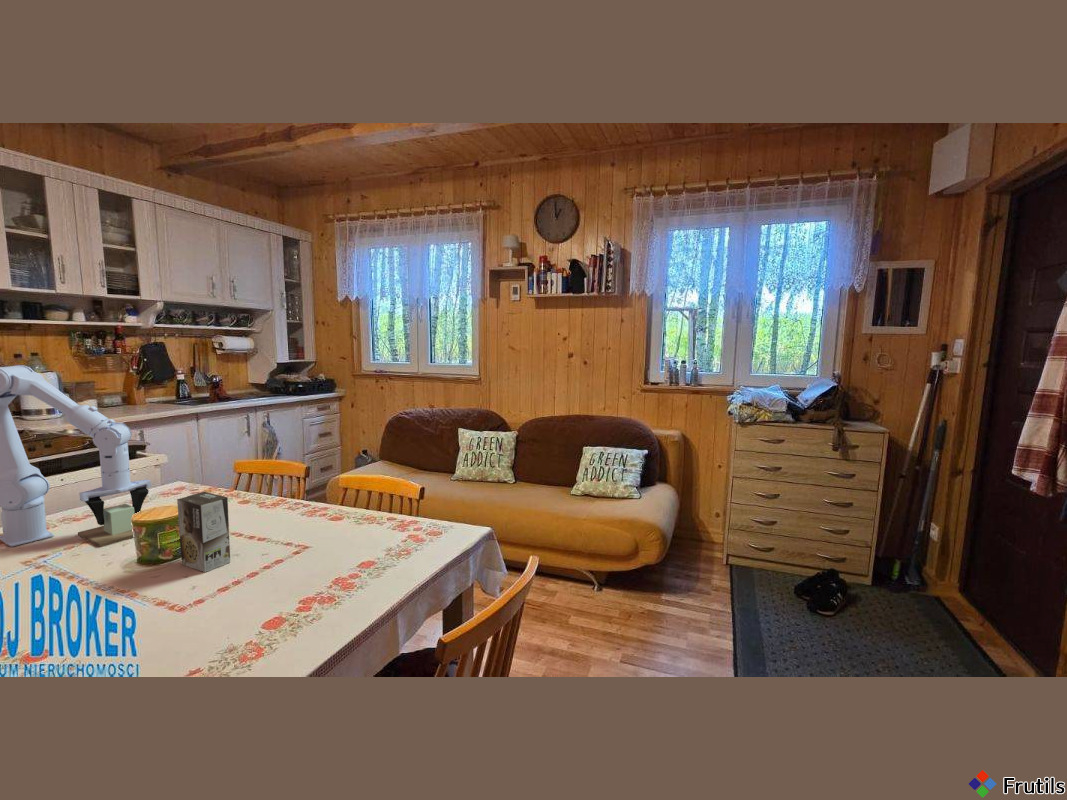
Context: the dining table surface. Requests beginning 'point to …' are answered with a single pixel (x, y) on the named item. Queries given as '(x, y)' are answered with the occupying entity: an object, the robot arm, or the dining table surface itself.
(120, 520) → the sage block
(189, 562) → the coffee box
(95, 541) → the walnut base board
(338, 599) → the dining table surface
